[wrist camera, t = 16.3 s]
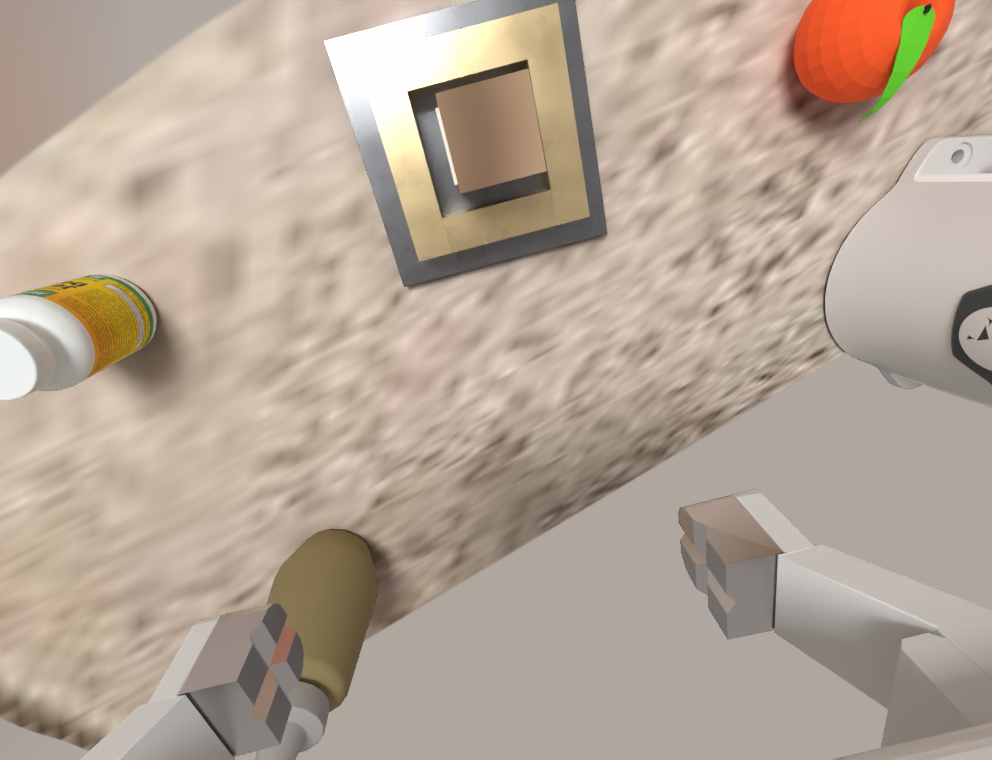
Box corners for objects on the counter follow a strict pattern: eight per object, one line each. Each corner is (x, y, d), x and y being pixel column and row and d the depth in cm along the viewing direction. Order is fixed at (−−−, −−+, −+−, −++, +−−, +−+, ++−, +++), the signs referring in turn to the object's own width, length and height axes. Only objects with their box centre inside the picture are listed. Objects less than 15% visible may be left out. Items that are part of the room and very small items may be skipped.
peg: (504, 101, 28) (528, 68, 19) (519, 173, 29) (546, 171, 21) (436, 119, 28) (432, 94, 20) (455, 190, 29) (457, 194, 21)
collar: (567, -19, 27) (585, -50, 23) (602, 231, 32) (622, 238, 29) (328, 46, 27) (309, 24, 23) (405, 283, 32) (400, 297, 29)
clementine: (855, 127, 31) (962, 114, 25) (754, 131, 31) (837, 118, 24) (890, -25, 28) (1025, -86, 21) (779, -24, 27) (882, -86, 21)
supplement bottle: (114, 363, 33) (-9, 431, 24) (52, 295, 31) (-108, 342, 22) (178, 328, 32) (76, 385, 23) (120, 257, 30) (-16, 290, 21)
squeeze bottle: (349, 602, 43) (287, 862, 27) (269, 562, 41) (147, 823, 24) (402, 547, 41) (371, 791, 25) (323, 501, 39) (229, 740, 22)
